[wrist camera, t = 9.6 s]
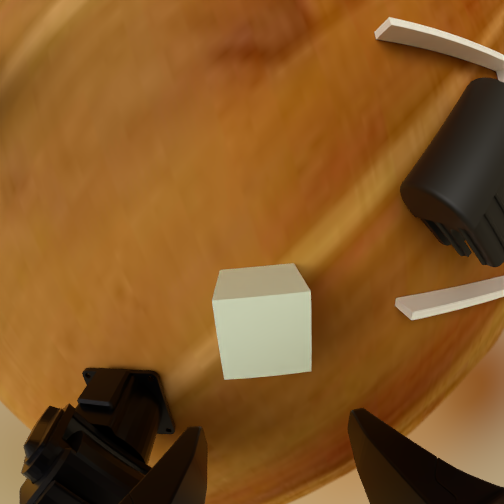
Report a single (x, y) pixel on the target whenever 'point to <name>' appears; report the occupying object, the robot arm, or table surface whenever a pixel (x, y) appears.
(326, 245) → the table surface
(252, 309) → the block
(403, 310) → the white u-shaped frame
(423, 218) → the end cap
